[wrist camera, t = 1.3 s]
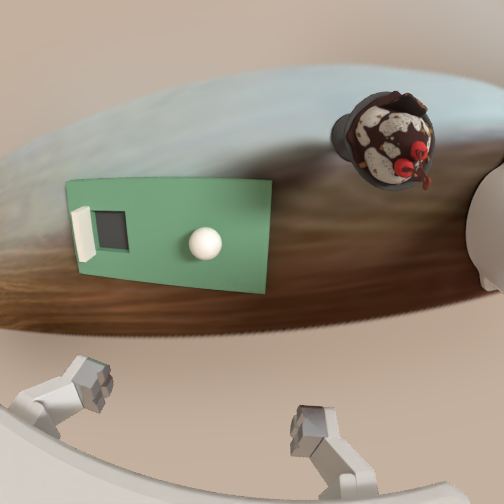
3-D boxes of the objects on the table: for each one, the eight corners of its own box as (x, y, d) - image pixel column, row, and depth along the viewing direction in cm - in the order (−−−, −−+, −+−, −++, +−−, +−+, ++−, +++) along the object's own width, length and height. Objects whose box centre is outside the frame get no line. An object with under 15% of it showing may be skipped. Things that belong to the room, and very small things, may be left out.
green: (272, 180, 28) (270, 186, 25) (265, 288, 33) (263, 306, 30) (71, 180, 30) (53, 186, 27) (84, 269, 35) (69, 281, 31)
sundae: (351, 184, 27) (412, 235, 14) (309, 130, 26) (339, 126, 12) (400, 147, 25) (492, 168, 12) (360, 92, 24) (432, 60, 10)
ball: (224, 223, 29) (218, 234, 26) (224, 253, 30) (218, 267, 27) (193, 222, 29) (183, 232, 26) (194, 251, 31) (185, 264, 28)
